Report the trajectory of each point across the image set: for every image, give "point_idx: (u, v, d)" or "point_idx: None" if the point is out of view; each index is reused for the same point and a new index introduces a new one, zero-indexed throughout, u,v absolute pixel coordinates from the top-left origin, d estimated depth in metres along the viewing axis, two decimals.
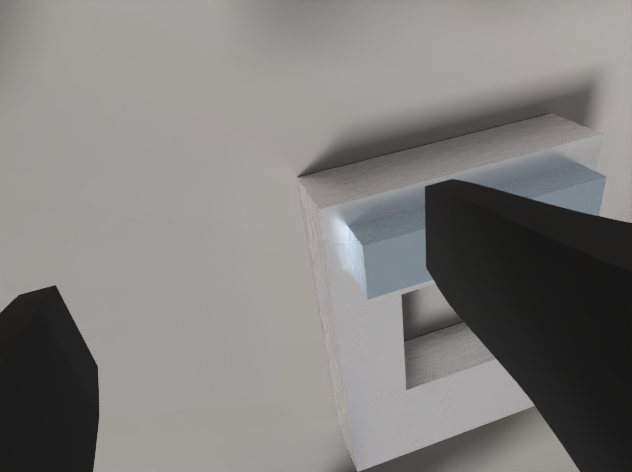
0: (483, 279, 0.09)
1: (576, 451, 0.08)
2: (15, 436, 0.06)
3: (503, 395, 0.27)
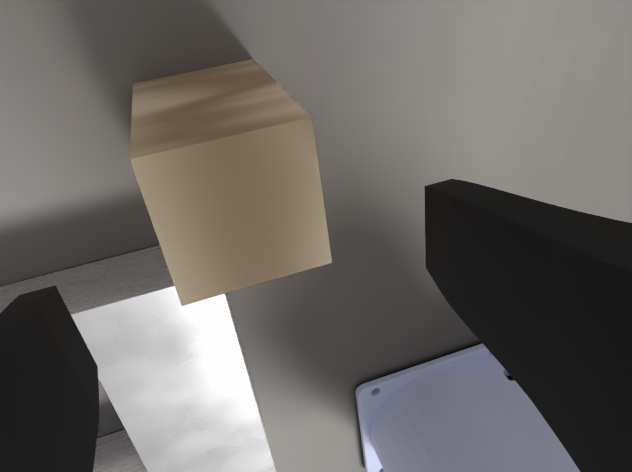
0: (483, 279, 0.09)
1: (577, 451, 0.08)
2: (15, 436, 0.06)
3: (188, 360, 0.18)
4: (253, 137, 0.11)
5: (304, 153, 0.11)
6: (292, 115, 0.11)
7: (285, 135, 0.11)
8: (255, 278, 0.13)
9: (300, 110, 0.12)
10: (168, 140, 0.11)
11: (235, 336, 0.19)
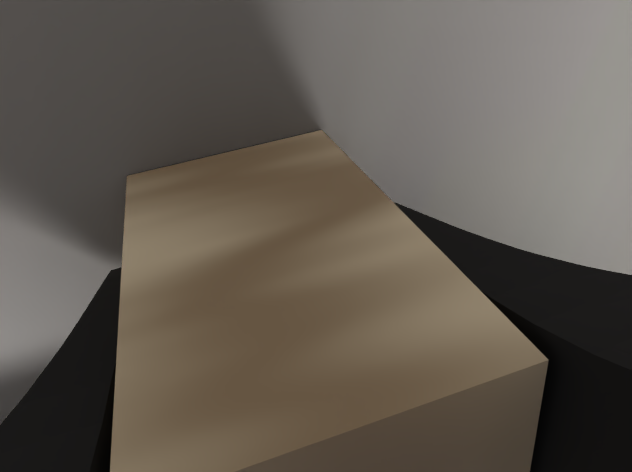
0: None
1: None
2: None
3: None
4: (414, 418, 0.04)
5: (514, 424, 0.05)
6: (490, 343, 0.05)
7: (483, 402, 0.05)
8: None
9: (498, 321, 0.05)
10: (204, 420, 0.05)
11: None
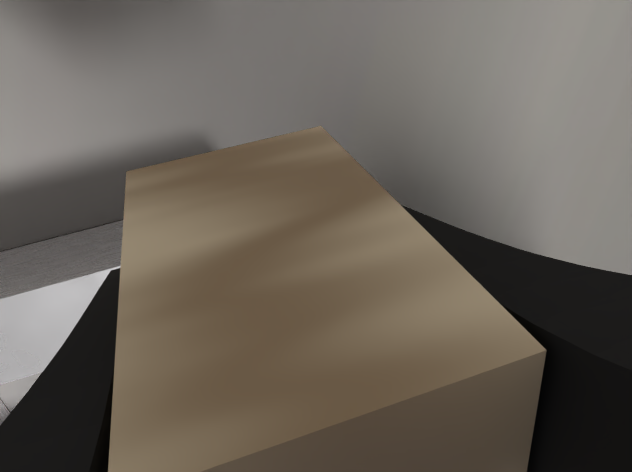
0: None
1: None
2: None
3: None
4: (411, 407, 0.04)
5: (513, 416, 0.05)
6: (489, 334, 0.05)
7: (480, 392, 0.05)
8: None
9: (496, 312, 0.05)
10: (203, 410, 0.05)
11: None
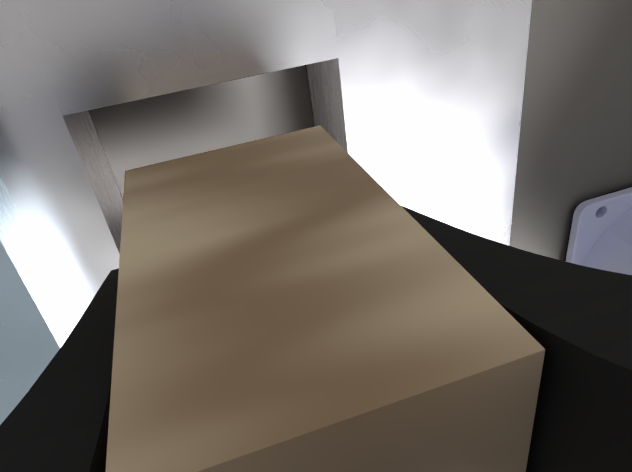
0: None
1: None
2: None
3: (460, 49, 0.12)
4: (411, 407, 0.04)
5: (511, 414, 0.05)
6: (488, 332, 0.05)
7: (479, 391, 0.05)
8: None
9: (496, 311, 0.05)
10: (200, 410, 0.05)
11: (529, 14, 0.12)
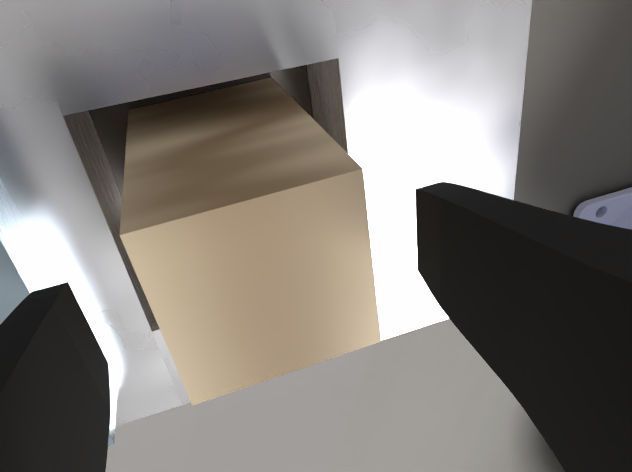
0: (472, 282, 0.09)
1: (565, 456, 0.08)
2: (32, 431, 0.06)
3: (459, 49, 0.12)
4: (285, 197, 0.08)
5: (352, 214, 0.09)
6: (335, 165, 0.09)
7: (326, 193, 0.08)
8: (285, 366, 0.10)
9: (344, 157, 0.09)
10: (172, 204, 0.08)
11: (529, 14, 0.12)
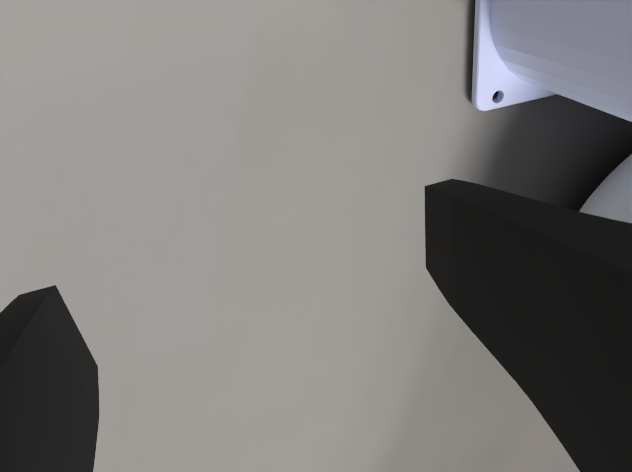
0: (483, 279, 0.09)
1: (576, 452, 0.08)
2: (15, 436, 0.06)
3: None
4: None
5: None
6: None
7: None
8: None
9: None
10: None
11: None
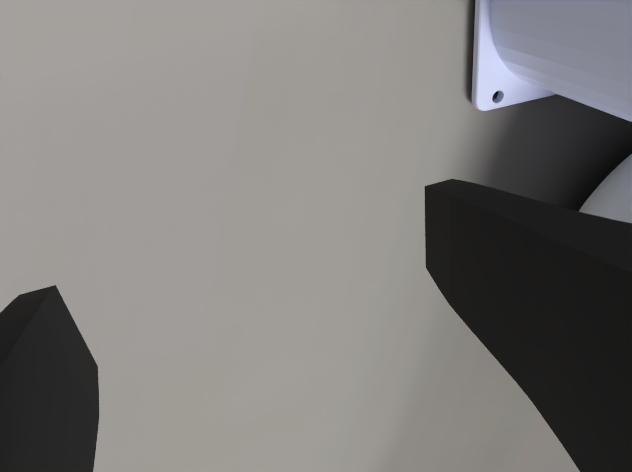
0: (483, 279, 0.09)
1: (577, 451, 0.08)
2: (15, 436, 0.06)
3: None
4: None
5: None
6: None
7: None
8: None
9: None
10: None
11: None
